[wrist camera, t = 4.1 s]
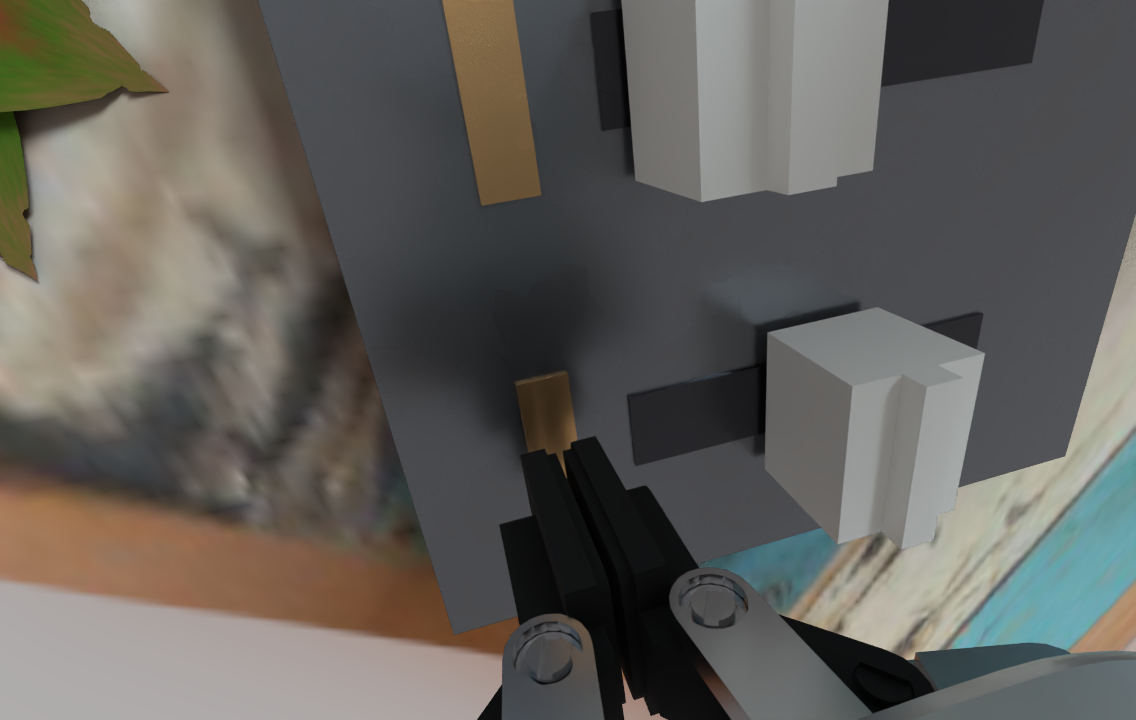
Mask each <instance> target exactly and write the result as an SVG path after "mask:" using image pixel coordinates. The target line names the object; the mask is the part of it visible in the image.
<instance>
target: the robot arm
mask: <svg viewBox="0 0 1136 720" xmlns="http://www.w3.org/2000/svg"><path fill="white" fill-rule="evenodd" d="M563 458H564V464H565V470H566V476H567V478H566V476H565V473H564V471H563V468H562V466H561V464H560V461H559V459H558V456H557V454H556V453H552V454H548V455H547V453H546V450H545V449H541V450H537V451H533V452H529V453H525V454H521V455H520V459H521V464H522V469H523V474H524V479H525V484H526V489H527V494H528V499H529V504H530V509H531V514H532V516H528V517H525V518H521V519H517V520H514V521H510V522H506V523H502V524H499V527H500V532H501V536H502V541H503V546H504V551H505V556H506V561H507V566H508V571H509V576H510V580H511V585H512V590H513V595H514V600H515V605H516V610H517V615H518V620H519V624H520V626H519V627H518V628H517V629H516V630H515V631H514V632H513V633H512V635H511V636H510V638H509V640H508V642H507V643H506V645H505V648H504V654H503V662H502V668H503V670H502V685H501V687H500V688H499V689H498V691H497V692H496V694H495V695H494V697H493V698H492V699H491V701H490V702H489V704H488V705H487V706H486V708H485V709H484V711H483V712H482V713H481V715H480V716H479V718H478V719H477V720H624V714H623V708H622V704H624V703H626V700H625V692H624V684H623V677H622V671H623V673H624V676H625V679H626V681H627V684H628V687H629V689H630V692H631V694H632V697H633V699H634V700H636V699H639V698H642V697H644V699H645V702H646V705H647V707H648V710H649V712H650V715H651V716H652V715H655V714H658V713H659V714H660V716H662V717H663V718H665V719H668V720H1136V652H1129V651H1099V652H1085V653H1073V654H1071V653H1069V652H1067V651H1066V650H1063V649H1060V648H1057V647H1054V646H1051V645H1048V644H1040V643H1019V644H1007V645H996V646H984V647H973V648H961V649H950V650H939V651H927V652H916V653H915V659H914V660H906V659H904V658H903V657H900V656H898V655H896V654H894V653H892V652H889V651H887V650H884V649H881V648H878V647H875V646H872V645H869V644H866V643H863V642H860V641H857V640H854V639H851V638H848V637H845V636H842V635H839V634H836V633H833V632H830V631H827V630H824V629H821V628H818V627H815V626H812V625H809V624H806V623H803V622H800V621H797V620H794V619H791V618H788V617H785V616H782V615H779V614H777V613H776V612H775V611H774V609H773V608H772V607H771V606H770V605H769V604H768V603H767V602H766V601H765V600H764V599H763V598H762V597H761V596H760V595H759V594H758V593H757V592H756V591H755V590H754V589H753V587H752V586H751V585H750V584H749V583H748V582H746V581H745V580H744V579H742V578H741V577H740V576H739V575H737V574H734V573H732V572H730V571H728V570H724V569H719V568H714V567H710V568H699V567H698V565H697V563H696V562H695V560H694V559H693V557H692V555H691V554H690V552H689V551H688V549H687V548H686V546H685V544H684V543H683V541H682V540H681V538H680V536H679V535H678V533H677V532H676V530H675V528H674V527H673V525H672V524H671V522H670V520H669V519H668V517H667V516H666V514H665V512H664V511H663V509H662V508H661V506H660V504H659V503H658V501H657V500H656V498H655V496H654V495H653V493H652V492H651V490H650V489H649V488H648V487H647V486H646V485H644V486H640V487H636V488H633V489H629V490H626V489H625V487H624V485H623V484H622V482H621V480H620V478H619V476H618V475H617V473H616V471H615V469H614V468H613V466H612V464H611V462H610V460H609V459H608V457H607V455H606V453H605V452H604V450H603V448H602V446H601V444H600V443H599V441H598V439H597V438H596V436H593V437H589V438H585V439H581V440H577V441H573V442H571V449H568V450H564V451H563ZM621 668H622V670H621Z"/></svg>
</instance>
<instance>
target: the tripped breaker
mask: <svg viewBox="0 0 1136 720" xmlns="http://www.w3.org/2000/svg"><path fill="white" fill-rule="evenodd" d="M984 356H985V353H983V352H981V351H979V350H976V349H974V348H972V347H969V346H967V345H965V344H962V343H960V342H958V341H955V340H953V339H951V338H948V337H946V336H944V335H941V334H939V333H937V332H934V331H932V330H930V329H927V328H925V327H923V326H920V325H918V324H916V323H913V322H911V321H909V320H906V319H904V318H902V317H899V316H897V315H895V314H892V313H890V312H888V311H885V310H883V309H881V308H878V307H877V308H872V309H868V310H864V311H859V312H855V313H850V314H846V315H842V316H837V317H833V318H828V319H824V320H820V321H815V322H811V323H807V324H802V325H798V326H793V327H789V328H785V329H780V330H776V331H771V332H767V381H766V430H765V470H766V471H767V472H768V473H769V474H770V475H771V476H772V477H773V478H774V479H775V480H776V481H777V482H778V483H779V484H780V485H781V486H782V487H783V488H784V490H785V491H786V492H787V493H788V494H789V495H790V496H791V497H792V498H793V499H794V500H795V501H796V502H797V503H798V504H799V505H800V506H801V507H802V508H803V509H804V510H805V511H806V512H807V513H808V514H809V515H810V516H811V517H812V518H813V520H814V521H815V522H816V523H817V524H818V525H819V526H820V527H821V528H822V529H823V530H824V531H825V532H826V533H827V534H828V535H829V536H830V537H831V538H832V539H833V540H834V541H835V542H836V543H837V544H842V543H845V542H848V541H852V540H855V539H858V538H862V537H865V536H868V535H872V534H875V533H878V532H882V533H883V534H884V535H886V536H887V537H888V538H889V539H890V540H891V541H892V542H893V543H894V544H895V545H897V546H898V547H899V548H900V549H901V550H903V549H906V548H909V547H913V546H916V545H919V544H922V543H926V542H929V541H932V540H934V534H935V529H936V524H937V518H938V515H939V514H942V513H945V512H949V511H952V510H954V506H955V501H956V496H957V491H958V486H959V481H960V476H961V471H962V466H963V461H964V456H965V451H966V446H967V441H968V436H969V431H970V426H971V421H972V416H973V411H974V406H975V401H976V396H977V391H978V386H979V381H980V376H981V371H982V366H983V361H984Z"/></svg>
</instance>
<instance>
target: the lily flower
mask: <svg viewBox="0 0 1136 720" xmlns="http://www.w3.org/2000/svg"><path fill="white" fill-rule="evenodd" d="M121 85H122V86H123V87H124V88H125V87H126V88H128V91H133V92H143V91H156V92H169V91H168V90H166V89H165V88H164V87H163V86H162V85H161V84H160V83H159V82H157V81H156V80H155V79H154V78H153V77H152V76H150V75H148V73H146V72H145V71H144V70H143V71H141V68H140V65H139V64H138V63H137V62H136V61H135V59H133V57H132V56H131V55H130V54H129V53H128V52H127V51H126V50H125V48H124V47H123V46H122V45H121V44H120V43H119V42H118V41H117V39H116V38H115V37H114V36H113V35H112V34H111V33H110V32H109V31H107V30H106V29H103V28H102V27H101V28H100V27H99V26H97V25H95V24H94V23H93V21H92V19H91V18H90V11H89V8H88V7H87V6H86V4H84V2H83V1H82V0H0V253H1V256H2V257H3V258H4V259H3V261H5V262H6V263H7V264H8V265H11V266H12V267H14V268H16V269H19V270H20V271H22V272H24V273H26V274H27V275H29V276H30V277H32V278H34V279H36V280H37V281H38V279H37V275H36V271H35V267H34V264H33V261H32V259H31V258H30V257H29V256H30V255H31V254H32V251H31V237H30V225H29V224H28V222H27V220H25V218H24V216H23V215H22V213H23V211H24V210H26V209H27V208H28V207H29V200H28V189H27V180H26V174H25V166H24V159H23V152H22V147H21V146H20V145H21V140H20V136H19V131H18V127H17V124H16V121H15V117H14V114H13V112H12V111H24V110H31V109H40V108H48V107H54V106H60V105H66V104H72V103H77V102H83V101H88V100H93V99H98V98H102V97H103V96H105V95H106V93H107V94H108V91H109V92H110V93H111V92H112V91H115V89H117V88H119V87H121Z"/></svg>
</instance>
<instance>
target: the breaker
mask: <svg viewBox="0 0 1136 720" xmlns="http://www.w3.org/2000/svg"><path fill="white" fill-rule="evenodd" d="M621 1H622V14H623V27H624V39H625V52H626V65H627V78H628V91H629V104H630V117H631V130H632V143H633V156H634V169H635V181H638V182H641V183H644V184H647V185H650V186H653V187H657V188H660V189H663V190H666V191H669V192H672V193H675V194H678V195H681V196H684V197H687V198H690V199H693V200H697V201H700V202H705V201H710V200H716V199H721V198H726V197H732V196H737V195H743V194H748V193H754V192H759V191H764V190H768V191H772V192H777V193H781V194H785V195H792V194H798V193H803V192H808V191H814V190H819V189H824V188H830V187H835V186H837V177H840V176H846V175H851V174H857V173H862V172H867V171H873V163H874V152H875V141H876V131H877V120H878V109H879V99H880V88H881V77H882V67H883V56H884V45H885V35H886V24H887V13H888V2H889V0H621Z"/></svg>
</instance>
